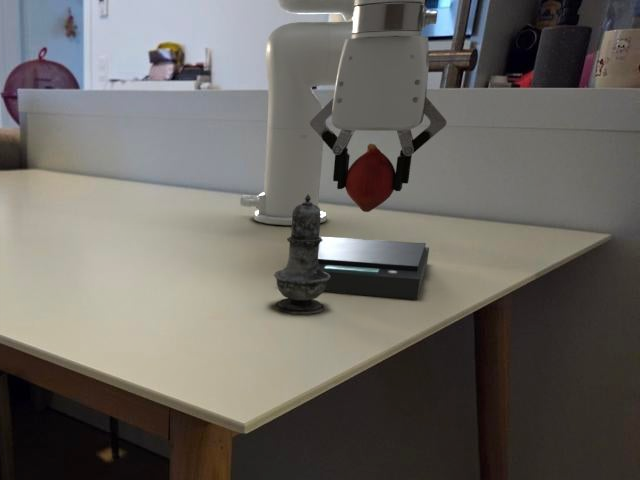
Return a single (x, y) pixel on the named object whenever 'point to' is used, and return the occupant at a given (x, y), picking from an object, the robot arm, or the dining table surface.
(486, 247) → the dining table surface
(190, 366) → the dining table surface
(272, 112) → the robot arm
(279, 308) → the salt shaker
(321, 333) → the dining table surface
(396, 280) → the scale
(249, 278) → the dining table surface
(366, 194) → the onion
